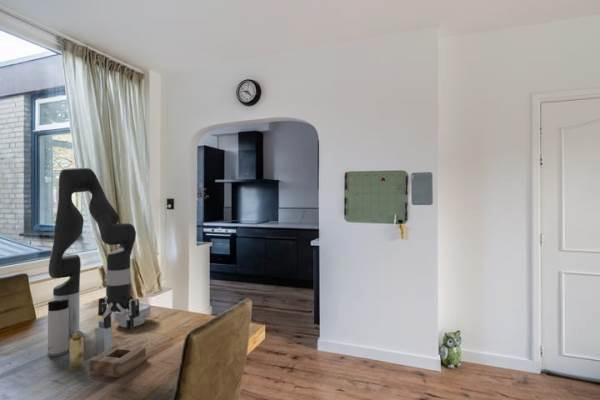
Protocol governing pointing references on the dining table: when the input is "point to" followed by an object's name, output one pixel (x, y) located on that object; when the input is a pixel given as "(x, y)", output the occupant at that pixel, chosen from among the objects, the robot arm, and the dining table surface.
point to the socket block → (117, 360)
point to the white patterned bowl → (144, 313)
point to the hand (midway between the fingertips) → (118, 329)
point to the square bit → (103, 338)
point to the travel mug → (58, 327)
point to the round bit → (76, 352)
